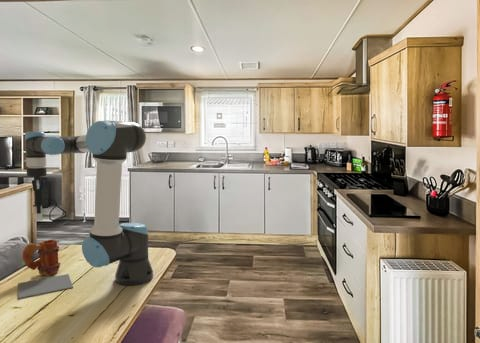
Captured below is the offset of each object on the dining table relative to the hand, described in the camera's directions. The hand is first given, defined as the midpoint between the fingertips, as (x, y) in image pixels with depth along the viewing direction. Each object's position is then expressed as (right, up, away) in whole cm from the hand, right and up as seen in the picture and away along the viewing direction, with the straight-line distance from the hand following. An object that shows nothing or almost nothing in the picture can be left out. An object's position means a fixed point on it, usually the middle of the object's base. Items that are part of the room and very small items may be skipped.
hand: (39, 220), depth 155 cm
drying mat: (+12, -24, -17) cm, 31 cm away
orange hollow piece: (+5, -23, -6) cm, 24 cm away
